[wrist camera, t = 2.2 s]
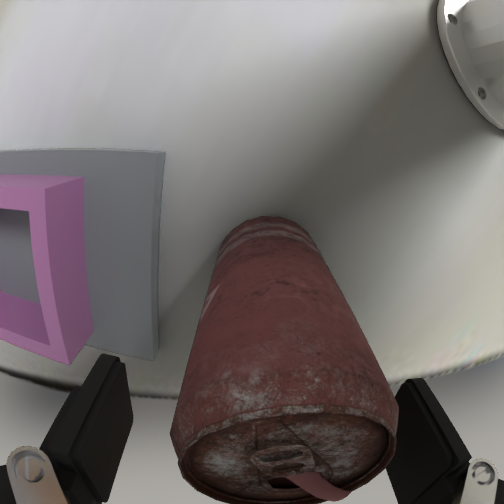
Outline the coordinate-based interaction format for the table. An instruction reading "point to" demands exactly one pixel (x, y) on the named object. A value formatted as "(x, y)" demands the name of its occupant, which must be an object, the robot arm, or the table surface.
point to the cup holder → (80, 250)
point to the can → (280, 379)
